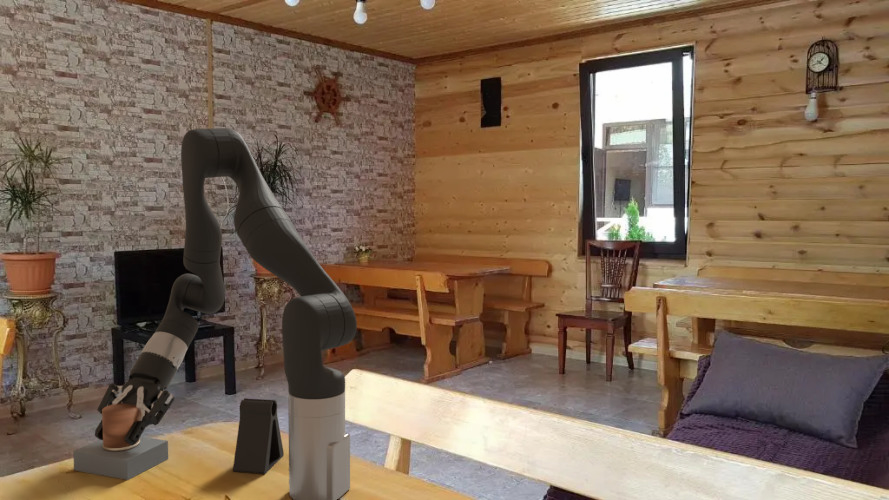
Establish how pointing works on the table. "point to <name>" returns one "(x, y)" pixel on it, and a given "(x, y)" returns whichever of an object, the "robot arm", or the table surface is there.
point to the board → (121, 458)
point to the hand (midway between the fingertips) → (113, 440)
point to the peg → (118, 426)
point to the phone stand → (258, 437)
